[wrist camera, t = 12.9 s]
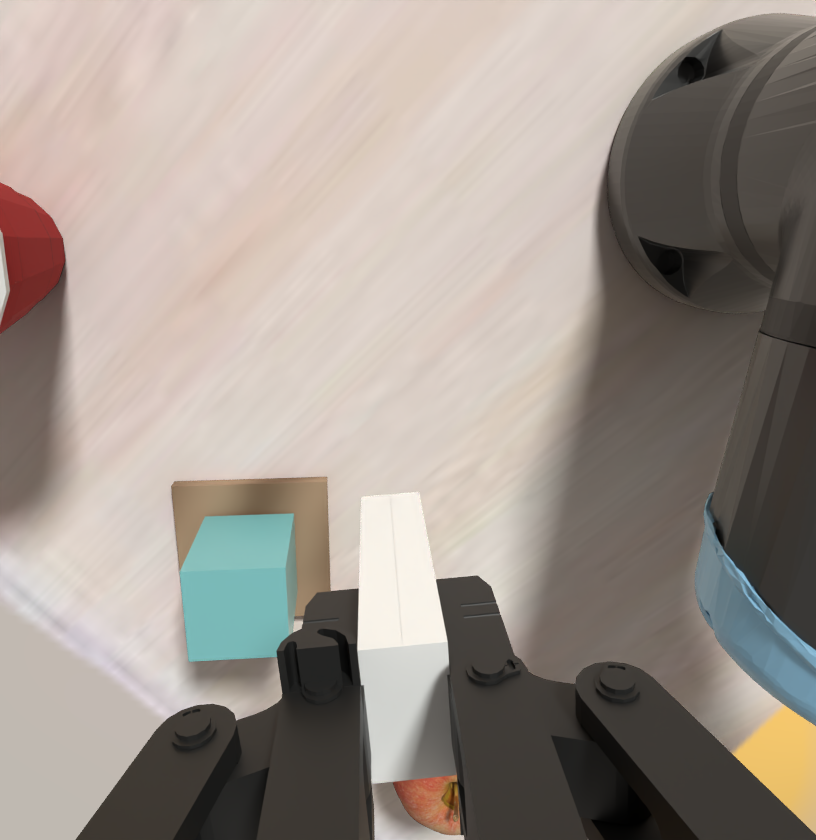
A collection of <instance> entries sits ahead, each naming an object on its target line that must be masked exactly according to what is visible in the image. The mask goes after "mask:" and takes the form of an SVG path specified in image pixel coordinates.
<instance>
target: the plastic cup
mask: <svg viewBox="0 0 816 840" xmlns="http://www.w3.org/2000/svg"><path fill="white" fill-rule="evenodd" d="M64 262H65V254H64V245H63V238H62V236H61V234H60V232H59V231H58V229H57V227H56V225H55V223H54V221H53V219H52V218H51V217H50V216H49V215H48V214H47V213H46V212H45V211H44V210H43V209H42V208H41V207H40V206H39V205H37V204H36V203H35V202H34V201H33V200H32V199H31V198H29V197H26V196H24V195H22V194H19V193H17V192H15V191H14V190H13V189H12V188H11V187H9V186H6V185H4V184H2V183H0V334H1V333H2V332H3V331H5V330H6V329H7V328H9V327H10V326H11V325H13V324H14V323H15V322H17V321H18V320H19V319H20V318H22V317H23V316H24V315H26V314H27V313H28V312H29V311H30V310H31V309H32V308H33V307H34V306H35V305H36V304H37V303H38V302H39V301H41V300H42V299H43V298H44V297H45V296H46V295H47V294H48V293H49V292H50V291H51V290H52V289H53V287H54V286H55V285H56V284H57V283H58V281H59V278H60V275H61V272H62V269H63V266H64Z"/></svg>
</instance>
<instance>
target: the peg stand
mask: <svg viewBox="0 0 816 840" xmlns="http://www.w3.org/2000/svg"><path fill="white" fill-rule="evenodd" d="M171 488H172V498H173V508H174V518H175V528H176V538H177V547H178V557H179V567H180V570H181V568H182V566H183V563H184V561H185V559H186V557H187V555H188V553H189V550H190V548H191V546H192V544H193V542H194V539H195V537H196V535H197V533H198V531H199V528H200V526H201V524H202V522H203V520H204V518H205V516H233V515H262V514H291V513H294V524H295V546H296V567H297V589H298V591H297V600H296V609H295V616H304V612H305V606H306V605H307V604H308V603H309V602H310V600H311V599H312V598H313V597H314V596H315V594H316V593H318V592H328V591H331V590H330V558H329V526H328V495H327V477H308V478H275V479H243V480H210V481H177V482H174V483H173V485H172V486H171Z"/></svg>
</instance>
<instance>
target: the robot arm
mask: <svg viewBox="0 0 816 840" xmlns="http://www.w3.org/2000/svg"><path fill="white" fill-rule="evenodd" d="M607 188H608V204H609V211H610V217H611V221H612V225H613V228H614V231H615V234H616V237H617V239H618V242H619V244H620V246H621V248H622V250H623V252H624V254H625V256H626V257H627V259H628V261H629V262H630V263H631V265H632V266H633V268H634V269H635V270H636V271H637V272H638V274H639V275H640V276H641V277H642V278H643V279H644V280H645V281H646V282H647V283H648V284H650V285H651V286H652V287H653V288H655V289H656V290H657V291H659V292H660V293H662V294H664V295H665V296H667V297H669V298H671V299H673V300H675V301H677V302H680V303H683V304H686V305H689V306H693V307H697V308H701V309H705V310H710V311H715V312H721V313H753V312H760V311H765V314H764V317H763V321H762V325H761V328H760V330H759V333H758V337H757V340H756V344H755V347H754V351H753V354H752V358H751V362H750V365H749V369H748V372H747V376H746V379H745V383H744V387H743V390H742V394H741V397H740V401H739V404H738V408H737V412H736V415H735V419H734V422H733V426H732V429H731V433H730V437H729V440H728V444H727V447H726V451H725V454H724V458H723V462H722V465H721V469H720V472H719V476H718V479H717V483H716V487H715V490H714V492H712V493H710V494H709V496H708V498H707V501H706V503H705V508H704V523H705V529H704V533H703V538H702V543H701V548H700V552H699V557H698V562H697V567H696V572H695V591H696V597H697V601H698V605H699V608H700V610H701V612H702V614H703V616H704V618H705V620H706V621H707V623H708V625H709V626H710V627H711V628H712V629H713V630H714V632H715V636H716V638H717V640H718V642H719V643H720V645H721V646H722V647H723V648H724V650H725V651H726V652H727V653H728V654H729V655H730V657H731V658H732V659H733V660H734V661H735V662H736V663H737V664H738V665H739V666H740V667H741V668H742V669H743V670H744V671H745V672H746V673H747V674H748V675H749V676H750V677H751V678H752V679H753V680H754V681H755V682H757V683H758V684H759V685H760V686H761V687H762V688H763V689H765V690H766V691H767V692H768V693H770V694H771V695H772V696H773V697H775V698H776V699H777V700H779V701H780V702H781V703H783V704H784V705H785V706H787V707H788V708H790V709H791V710H793V711H794V712H796V713H797V714H798V715H800V716H801V717H803V718H804V719H806V720H807V721H809V722H811V723H812V724H814V725H815V726H816V17H814V16H805V15H796V14H785V13H774V14H763V15H757V16H752V17H747V18H743V19H739V20H736V21H733V22H730V23H727V24H725V25H723V26H720V27H718V28H716V29H714V30H712V31H710V32H708V33H706V34H704V35H702V36H700V37H698V38H696V39H694V40H693V41H691V42H689V43H687V44H686V45H684V46H683V47H681V48H680V49H678V50H677V51H675V52H674V53H673V54H672V55H670V56H669V57H668V58H667V59H666V60H664V61H663V62H662V63H661V64H660V65H659V66H658V67H657V68H656V69H655V70H654V71H653V72H652V73H651V74H650V76H649V77H648V78H647V79H646V80H645V82H644V83H643V84H642V86H641V87H640V88H639V90H638V91H637V93H636V94H635V96H634V97H633V99H632V101H631V102H630V104H629V106H628V108H627V109H626V112H625V114H624V116H623V118H622V120H621V123H620V125H619V127H618V130H617V133H616V136H615V139H614V143H613V147H612V151H611V156H610V161H609V169H608V183H607ZM276 653H277V659H278V666H279V673H280V680H281V686H282V693H283V694H282V699H281V700H280V701H279V702H278V703H276V704H275V705H273V706H272V707H270V708H268V709H267V710H264V711H262V712H260V713H257V714H255V715H252V716H249V717H246V718H243V719H240V720H237V721H236V719H235V715H234V713H233V712H231V711H230V710H229V709H228V708H226V707H224V706H220V705H215V704H206V705H196V706H193V707H190V708H187V709H184V710H181V711H180V712H178V713H176V714H175V715H173V716H171V717H169V718H168V719H167V720H166V721H165V722H164V723H163V724H162V725H161V726H160V727H159V728H158V729H157V730H156V731H155V732H154V734H153V735H152V737H151V738H150V739H149V740H148V742H147V743H146V745H145V746H144V747H143V749H142V750H141V751H140V753H139V754H138V755H137V757H136V758H135V759H134V761H133V762H132V764H131V765H130V766H129V768H128V769H127V770H126V772H125V773H124V775H123V776H122V777H121V779H120V780H119V781H118V783H117V784H116V785H115V787H114V788H113V790H112V791H111V792H110V794H109V795H108V796H107V798H106V799H105V801H104V802H103V803H102V805H101V806H100V807H99V809H98V810H97V811H96V813H95V814H94V815H93V817H92V818H91V819H90V821H89V822H88V824H87V825H86V827H85V828H84V829H83V830H82V832H81V833H80V835H79V836H78V837H77V839H76V840H374V804H373V795H372V786H371V779H372V784H376V783H386V782H395V781H405V780H414V779H424V778H433V777H443V776H452V775H456V773H457V785H458V801H459V816H460V831H461V835H464V839H465V840H816V835H815V834H814V833H813V832H812V831H811V830H810V829H809V828H808V827H807V826H806V825H805V824H804V823H803V822H802V821H801V820H800V819H799V818H798V817H797V816H796V815H795V814H794V813H793V812H792V811H791V810H789V809H788V808H787V807H786V806H785V805H784V804H783V803H782V802H781V801H780V800H779V799H778V798H777V797H776V796H775V795H774V794H773V793H772V792H771V791H770V790H769V789H768V788H767V787H766V786H765V785H763V784H762V783H761V782H760V781H759V780H758V779H757V778H756V777H755V776H754V775H753V774H752V773H751V772H750V771H749V770H748V769H747V768H746V767H745V766H744V765H743V764H742V763H741V762H740V761H739V760H737V758H736V757H735V756H733V755H732V754H731V753H730V752H729V751H728V750H727V749H726V748H725V747H724V746H723V745H722V744H721V743H720V742H719V741H718V740H717V739H716V738H715V737H714V736H713V735H712V734H711V733H710V732H709V731H708V730H707V729H705V728H704V727H703V726H702V725H701V724H700V723H699V722H698V721H697V720H696V719H695V718H694V717H693V716H692V715H691V714H690V713H689V712H688V711H687V710H686V709H685V708H684V707H683V706H682V705H681V704H680V703H679V702H677V701H676V700H675V699H674V698H673V697H672V696H671V695H670V694H669V693H668V692H667V691H666V690H665V689H664V688H663V687H662V686H661V685H660V684H659V683H658V682H657V681H656V680H655V679H654V678H653V677H651V676H650V675H648V674H647V673H646V672H644V671H643V670H641V669H639V668H636V667H634V666H631V665H628V664H625V663H617V662H603V663H595V664H593V665H591V666H589V667H586V668H584V669H583V670H582V671H581V672H580V673H579V675H578V676H577V677H576V684H570V683H562V682H555V681H550V680H546V679H543V678H540V677H537V676H535V675H533V674H531V673H530V672H528V670H527V668H526V666H525V665H524V663H523V662H522V660H521V659H519V658H518V657H516V656H515V655H514V653H513V650H512V647H511V644H510V641H509V638H508V635H507V632H506V629H505V626H504V623H503V620H502V618H501V615H500V612H499V609H498V606H497V604H496V600H495V597H494V594H493V591H492V588H491V586H489V585H488V584H487V583H486V582H485V581H483V580H482V579H481V578H480V577H479V576H468V577H458V578H447V579H437V580H436V578H435V573H434V568H433V563H432V557H431V552H430V547H429V542H428V536H427V531H426V526H425V521H424V515H423V510H422V505H421V500H420V495H419V492H409V493H398V494H387V495H376V496H365V497H361V525H360V566H359V589H349V590H339V591H328V592H318V593H316V594H315V596H314V597H313V598H312V599H311V600H310V602H309V603H308V604H307V605H306V606H305V612H304V618H303V625H302V629H300V630H298V631H296V632H294V633H292V634H290V635H289V636H288V637H287V638H285V639H284V640H283V641H282V642H281V643H280V645H279V647H278V649H277V651H276ZM587 838H588V839H587Z"/></svg>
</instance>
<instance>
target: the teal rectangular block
mask: <svg viewBox="0 0 816 840" xmlns="http://www.w3.org/2000/svg"><path fill="white" fill-rule="evenodd" d="M180 581H181V591H182V600H183V610H184V620H185V630H186V640H187V650H188V660H189V662H192V661H210V660H229V659H247V658H266V657H277V653H276V651H277V649H278V647H279V645H280V643H281V642H282V641H283V640H284V639H285V638H287V637H288V636H289V635H290V634H292V633H293V626H294V617H295V609H296V600H297V591H298V589H297V567H296V546H295V524H294V513H291V514H262V515H233V516H205V518H204V520H203V522H202V524H201V526H200V528H199V531H198V533H197V535H196V537H195V539H194V542H193V544H192V546H191V548H190V550H189V553H188V555H187V557H186V559H185V561H184V563H183V566H182V568H181V570H180Z"/></svg>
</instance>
